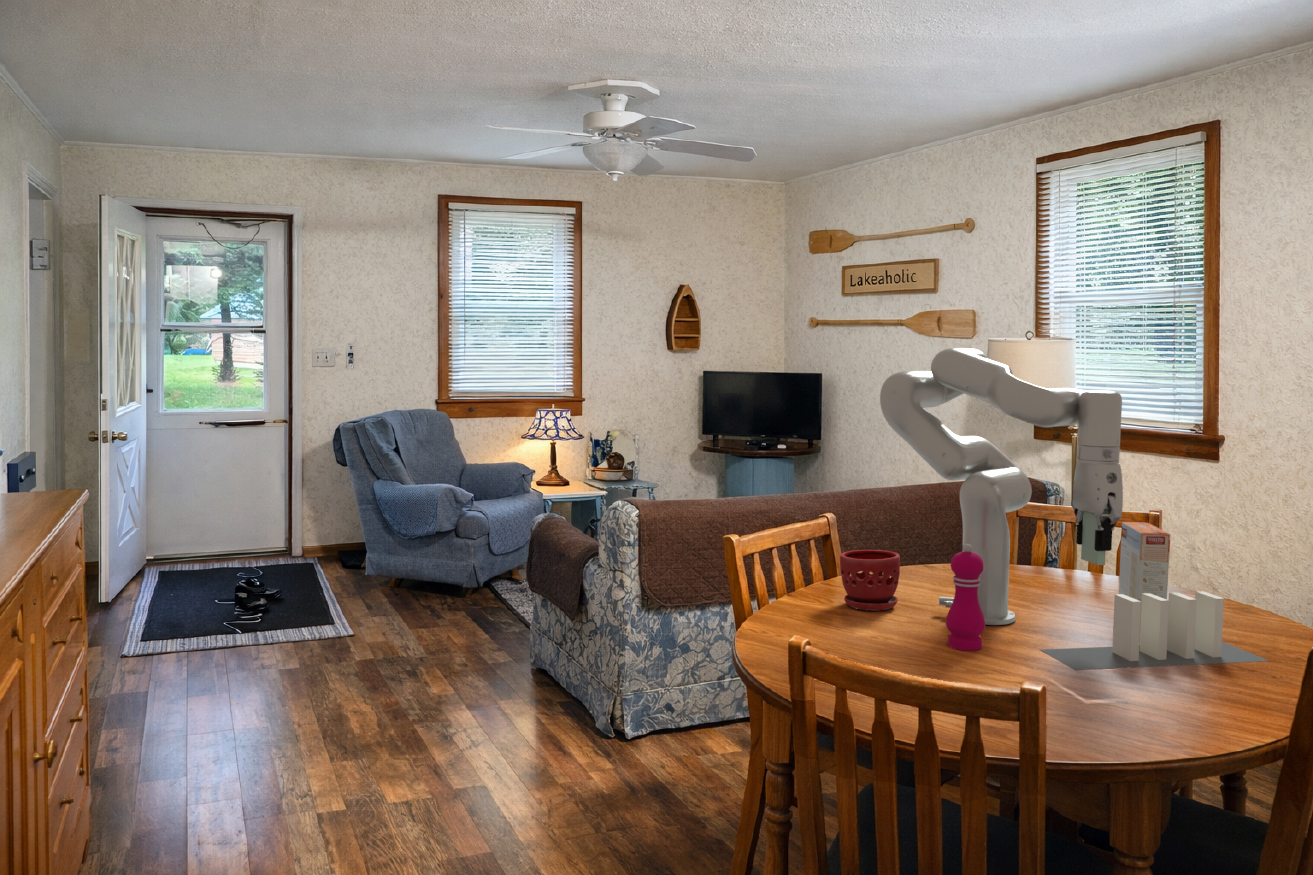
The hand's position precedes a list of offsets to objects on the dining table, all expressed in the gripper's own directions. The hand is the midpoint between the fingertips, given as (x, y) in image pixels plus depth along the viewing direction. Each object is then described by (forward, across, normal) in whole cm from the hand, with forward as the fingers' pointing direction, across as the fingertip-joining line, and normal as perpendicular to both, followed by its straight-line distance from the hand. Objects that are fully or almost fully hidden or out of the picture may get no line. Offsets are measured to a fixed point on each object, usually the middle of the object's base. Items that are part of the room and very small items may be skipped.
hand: (1093, 546), depth 190 cm
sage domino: (+3, 0, 0) cm, 3 cm away
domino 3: (+18, -11, -11) cm, 24 cm away
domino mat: (+19, -11, -6) cm, 23 cm away
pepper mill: (+19, 0, +26) cm, 32 cm away
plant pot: (+20, +32, +33) cm, 50 cm away
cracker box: (+19, +8, -17) cm, 27 cm away
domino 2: (+18, -11, -6) cm, 22 cm away
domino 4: (+18, -11, -17) cm, 27 cm away
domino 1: (+18, -11, 0) cm, 21 cm away
